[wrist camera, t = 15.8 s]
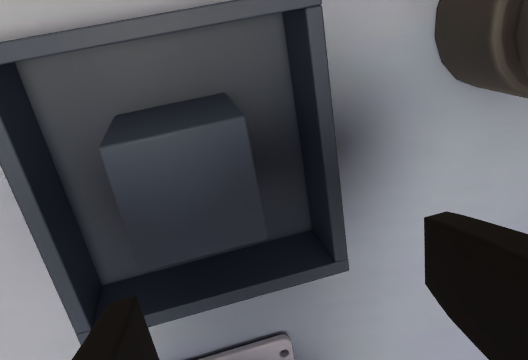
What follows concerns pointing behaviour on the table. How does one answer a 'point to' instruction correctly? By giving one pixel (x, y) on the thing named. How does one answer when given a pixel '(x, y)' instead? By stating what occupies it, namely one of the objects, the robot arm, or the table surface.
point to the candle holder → (485, 43)
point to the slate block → (184, 180)
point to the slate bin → (163, 93)
